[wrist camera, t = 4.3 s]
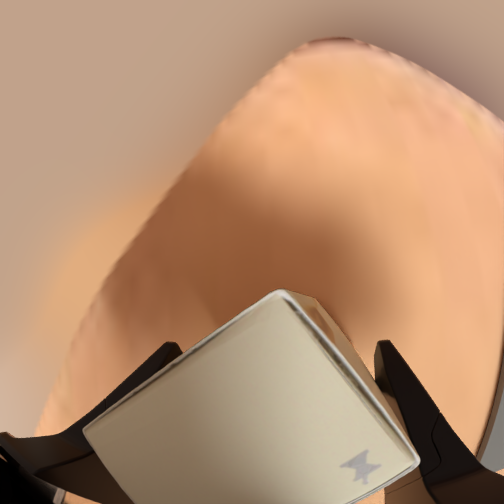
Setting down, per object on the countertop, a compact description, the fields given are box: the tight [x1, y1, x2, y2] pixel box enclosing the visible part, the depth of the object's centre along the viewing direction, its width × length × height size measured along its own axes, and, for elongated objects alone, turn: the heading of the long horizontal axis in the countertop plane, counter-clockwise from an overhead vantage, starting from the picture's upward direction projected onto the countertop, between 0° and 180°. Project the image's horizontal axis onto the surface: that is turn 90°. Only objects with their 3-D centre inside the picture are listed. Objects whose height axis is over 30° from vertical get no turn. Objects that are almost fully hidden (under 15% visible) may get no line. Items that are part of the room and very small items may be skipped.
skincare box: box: [83, 288, 420, 504], centre depth 9 cm, size 6×4×12 cm
